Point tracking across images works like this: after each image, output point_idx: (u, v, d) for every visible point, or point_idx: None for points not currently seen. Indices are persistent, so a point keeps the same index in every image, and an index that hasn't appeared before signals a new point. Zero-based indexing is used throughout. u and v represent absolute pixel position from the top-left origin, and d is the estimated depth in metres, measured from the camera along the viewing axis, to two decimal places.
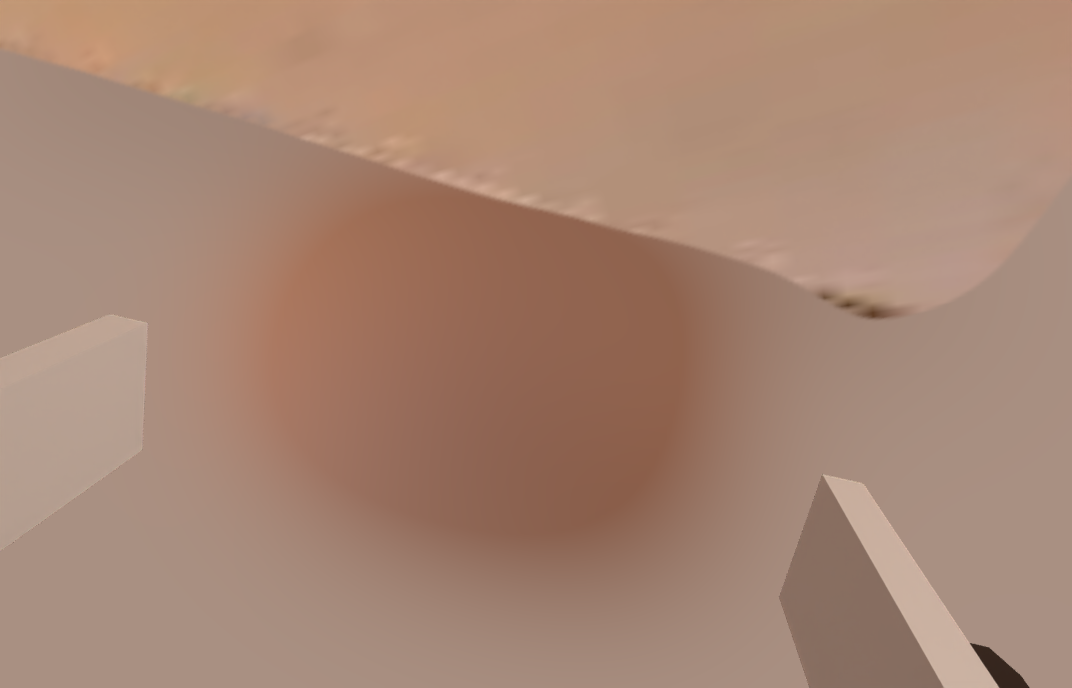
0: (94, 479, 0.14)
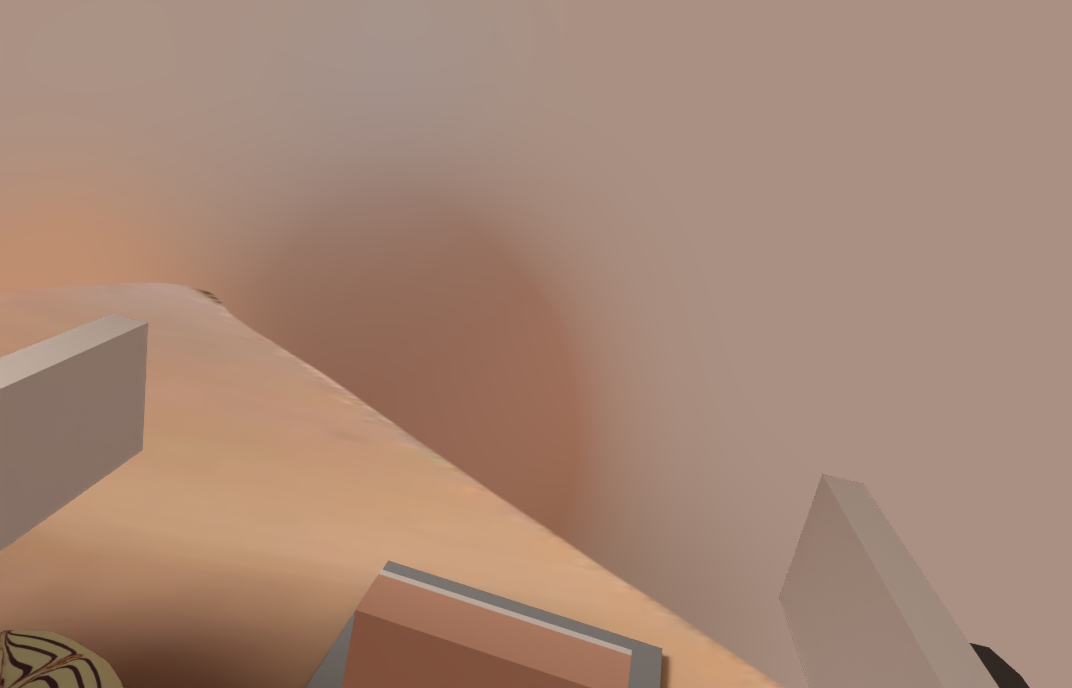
0: (95, 478, 0.14)
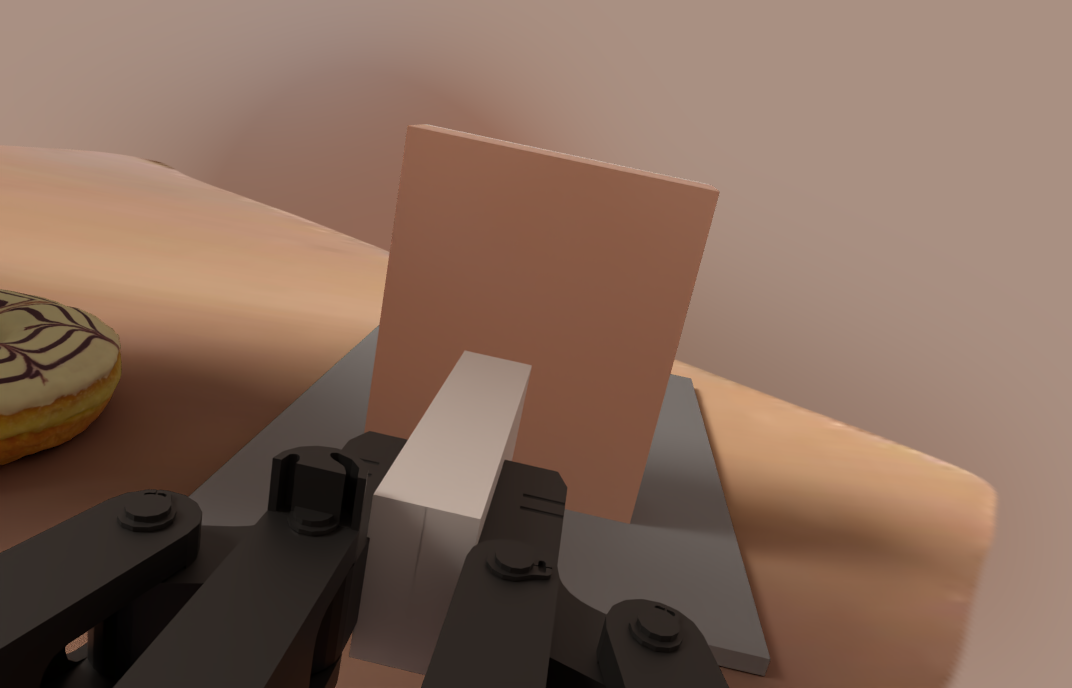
0: None
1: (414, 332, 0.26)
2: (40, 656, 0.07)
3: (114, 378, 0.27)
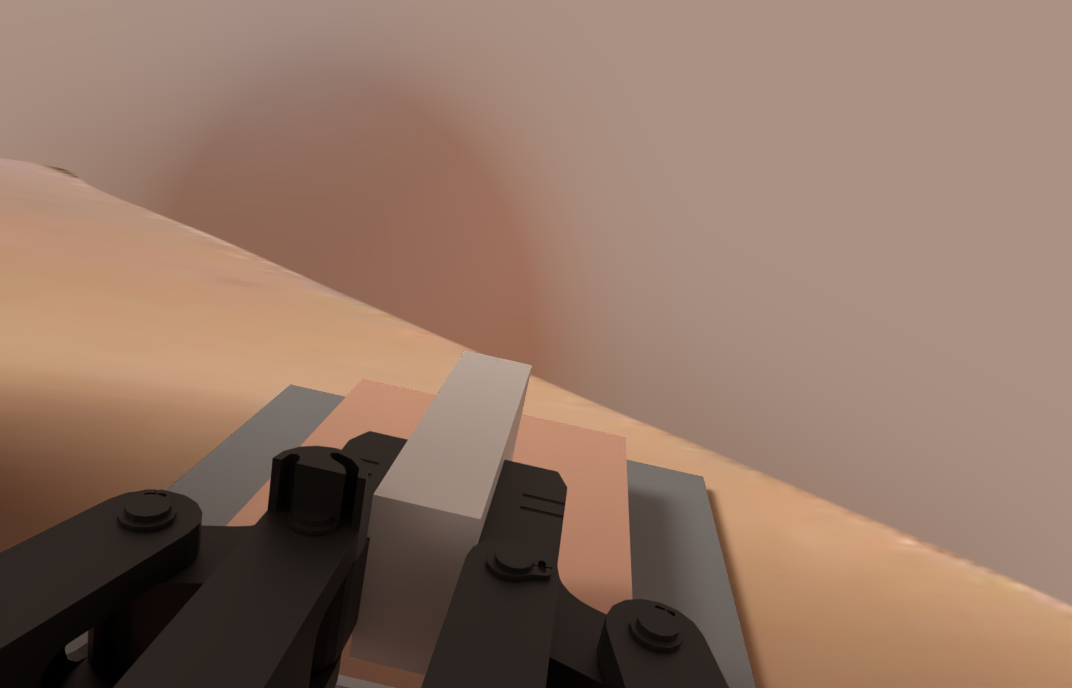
0: None
1: None
2: (40, 656, 0.07)
3: None
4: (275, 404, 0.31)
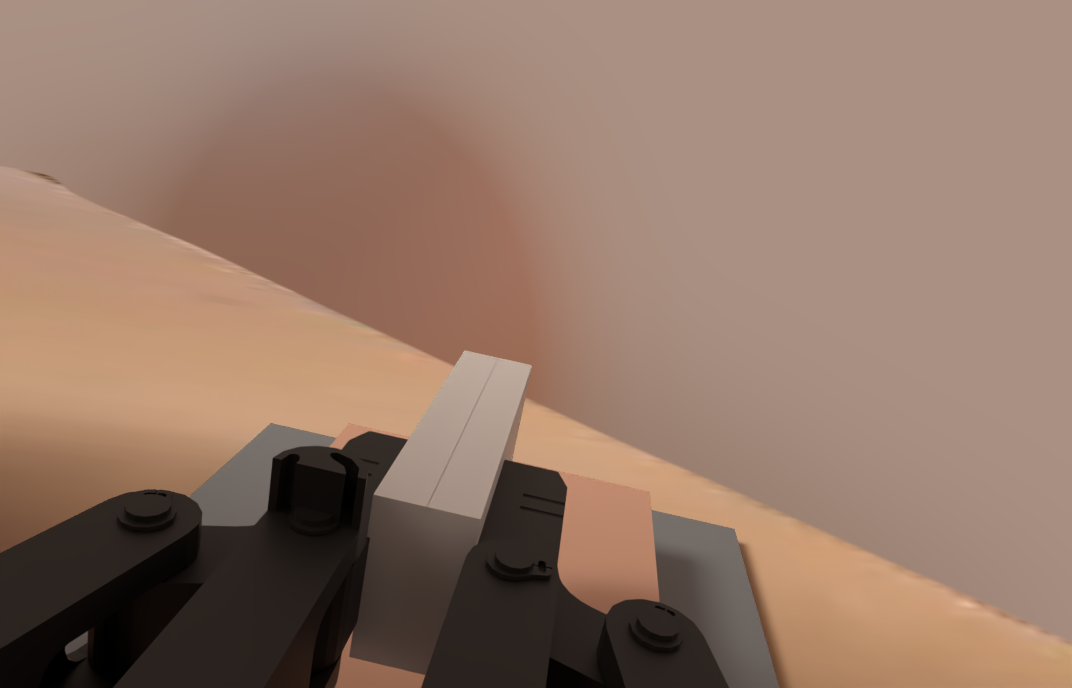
0: None
1: None
2: (40, 656, 0.07)
3: None
4: (252, 448, 0.27)
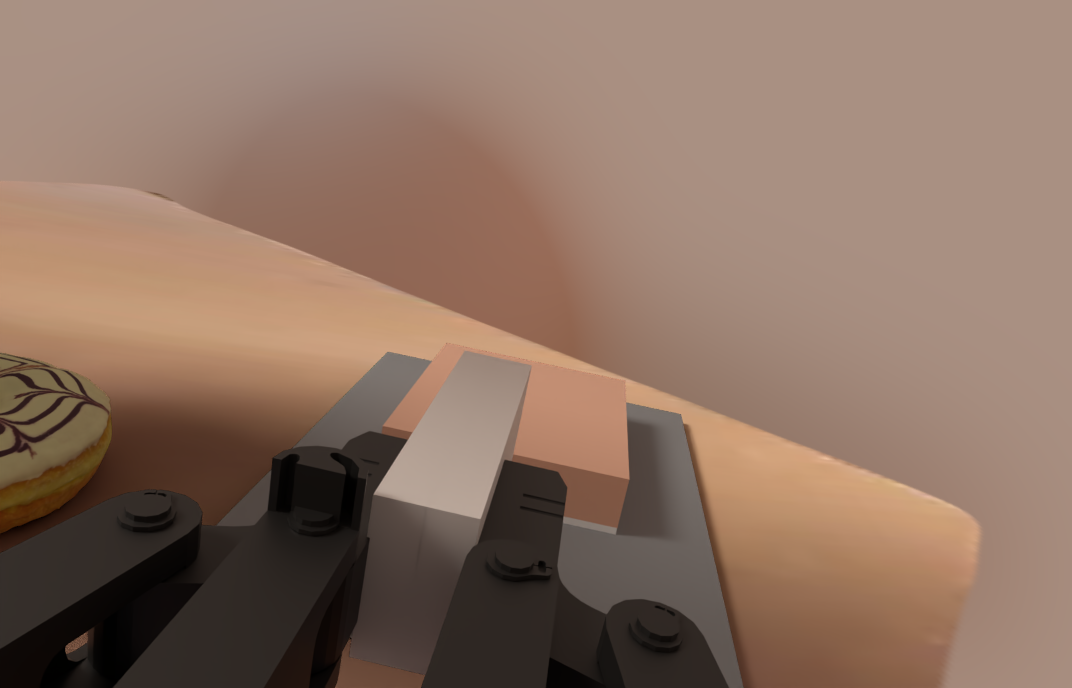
0: None
1: None
2: (40, 657, 0.07)
3: (103, 444, 0.27)
4: (381, 363, 0.44)
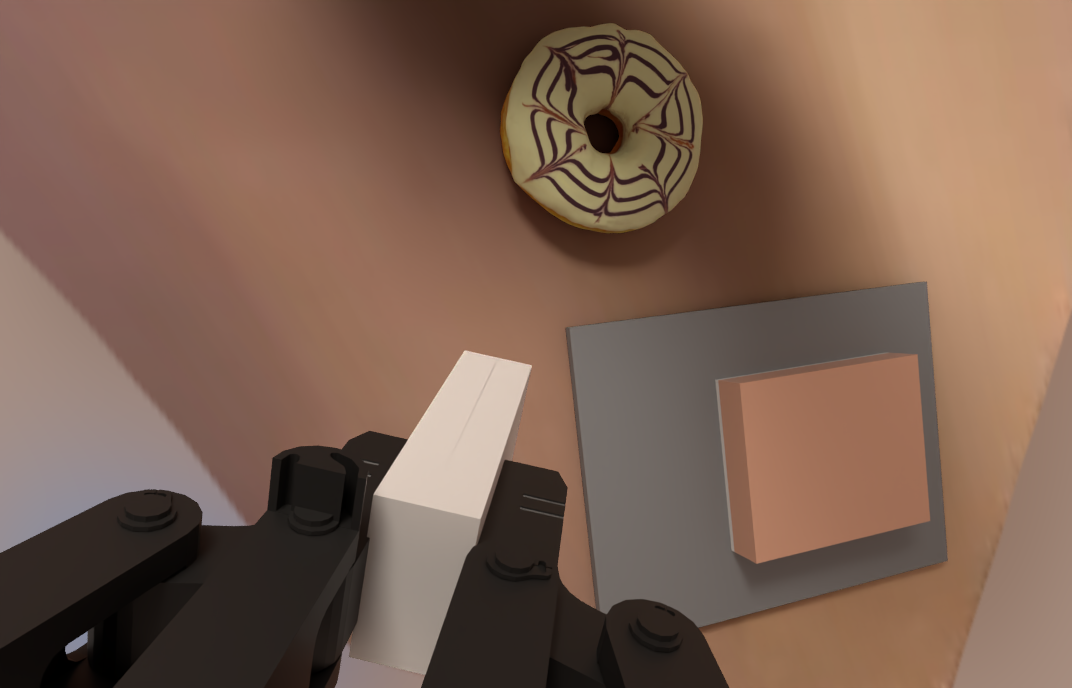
0: None
1: (824, 391, 0.43)
2: (40, 656, 0.07)
3: None
4: (899, 289, 0.47)
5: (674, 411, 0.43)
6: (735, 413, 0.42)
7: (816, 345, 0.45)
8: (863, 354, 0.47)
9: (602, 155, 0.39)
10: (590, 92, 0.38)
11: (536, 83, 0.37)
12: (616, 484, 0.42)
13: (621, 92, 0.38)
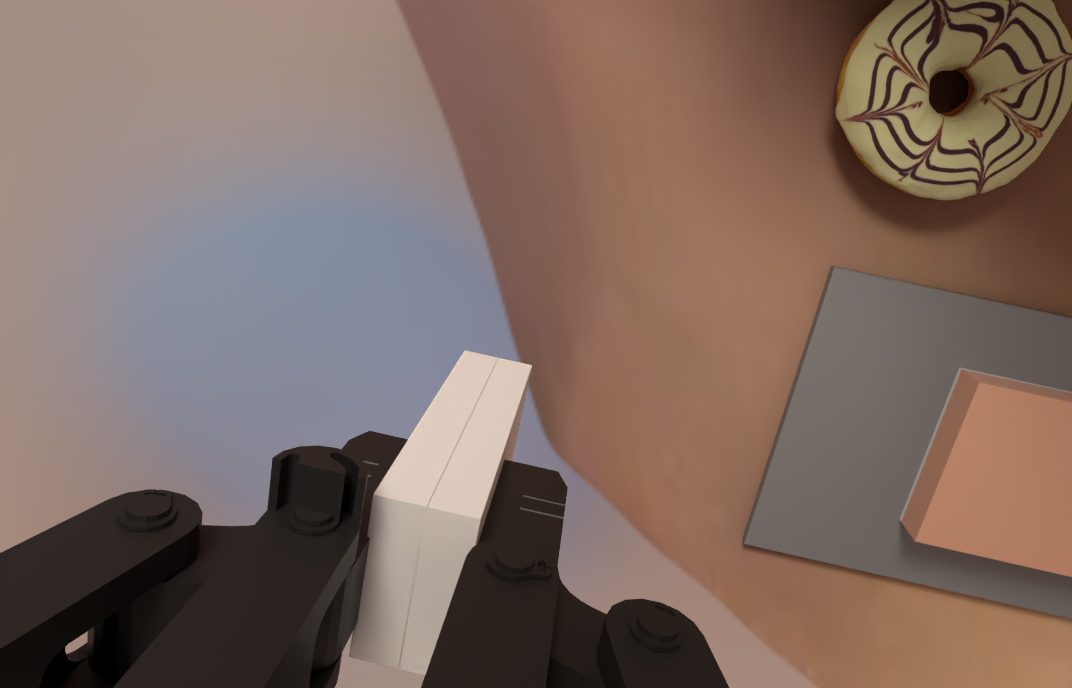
0: None
1: (1069, 424, 0.41)
2: (40, 656, 0.07)
3: None
4: None
5: (902, 379, 0.44)
6: (962, 406, 0.42)
7: None
8: None
9: (935, 116, 0.38)
10: (951, 49, 0.36)
11: (898, 26, 0.36)
12: (816, 418, 0.45)
13: (987, 57, 0.36)
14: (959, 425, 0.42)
